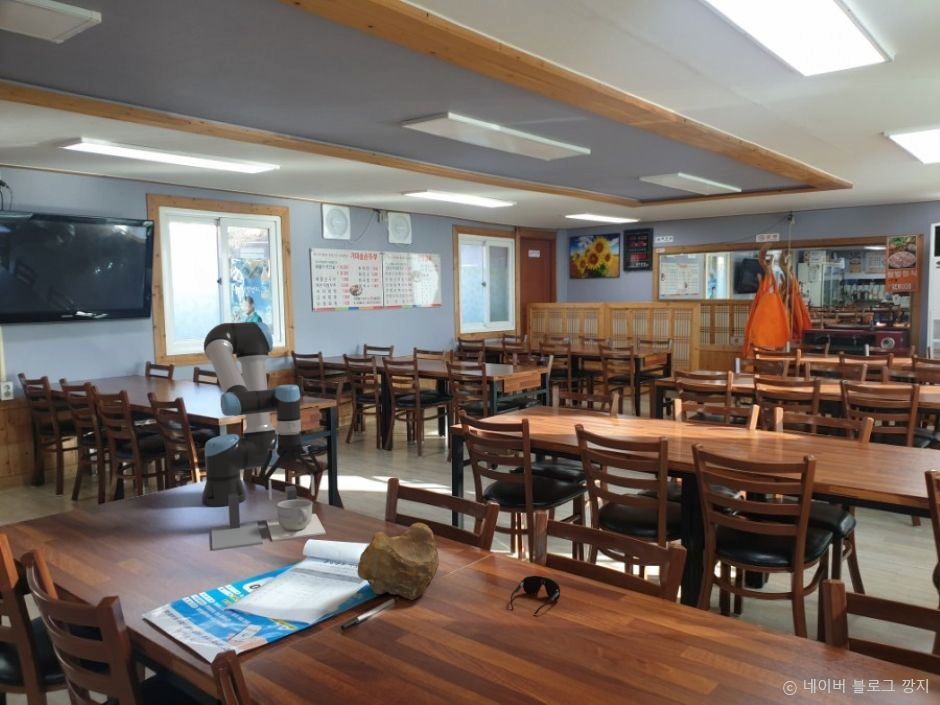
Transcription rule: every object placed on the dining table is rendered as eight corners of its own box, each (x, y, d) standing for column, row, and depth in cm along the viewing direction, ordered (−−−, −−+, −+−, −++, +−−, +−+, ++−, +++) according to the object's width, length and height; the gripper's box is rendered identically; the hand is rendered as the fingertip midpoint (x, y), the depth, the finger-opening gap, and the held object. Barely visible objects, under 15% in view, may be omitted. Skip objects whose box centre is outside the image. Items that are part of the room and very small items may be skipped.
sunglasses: (563, 598, 170) (562, 580, 169) (543, 624, 160) (542, 605, 159) (525, 590, 175) (524, 572, 174) (504, 614, 166) (502, 595, 165)
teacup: (275, 525, 225) (274, 500, 224) (309, 520, 229) (308, 496, 228) (282, 538, 212) (282, 512, 211) (318, 533, 217) (317, 507, 216)
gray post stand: (211, 528, 224) (209, 495, 223) (256, 522, 229) (255, 490, 228) (212, 550, 205) (210, 515, 204) (262, 543, 210) (261, 509, 209)
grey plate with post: (266, 520, 231) (264, 489, 230) (315, 514, 237) (314, 483, 236) (272, 541, 212) (271, 507, 211) (325, 534, 217) (324, 500, 216)
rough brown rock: (395, 619, 162) (399, 557, 160) (348, 594, 172) (351, 535, 171) (460, 589, 180) (465, 533, 178) (414, 568, 190) (418, 515, 189)
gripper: (249, 438, 220) (252, 504, 222) (329, 431, 229) (332, 495, 231) (248, 434, 227) (251, 498, 229) (325, 427, 236) (328, 489, 238)
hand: (291, 496), depth 230 cm, fingers open, 13 cm apart
